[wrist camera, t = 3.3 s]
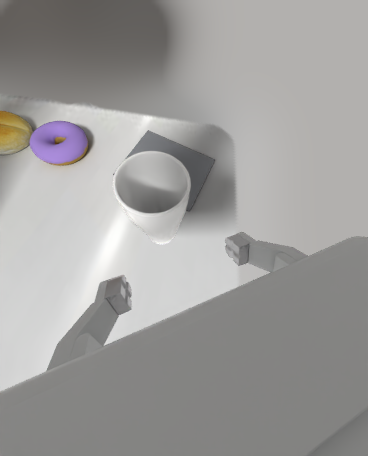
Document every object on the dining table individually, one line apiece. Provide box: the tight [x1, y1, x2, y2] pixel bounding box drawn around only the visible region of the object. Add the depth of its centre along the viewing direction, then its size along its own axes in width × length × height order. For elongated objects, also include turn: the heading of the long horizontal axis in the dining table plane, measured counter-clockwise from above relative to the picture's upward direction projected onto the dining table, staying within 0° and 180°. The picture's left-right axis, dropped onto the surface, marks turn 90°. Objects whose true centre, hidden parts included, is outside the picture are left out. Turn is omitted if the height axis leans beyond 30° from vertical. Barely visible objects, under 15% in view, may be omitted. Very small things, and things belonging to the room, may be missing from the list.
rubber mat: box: [113, 130, 215, 211], centre depth 30 cm, size 17×14×1 cm
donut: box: [30, 121, 88, 165], centre depth 28 cm, size 10×9×5 cm
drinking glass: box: [113, 151, 191, 244], centre depth 19 cm, size 7×7×15 cm
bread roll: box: [0, 111, 33, 155], centre depth 28 cm, size 8×9×4 cm
